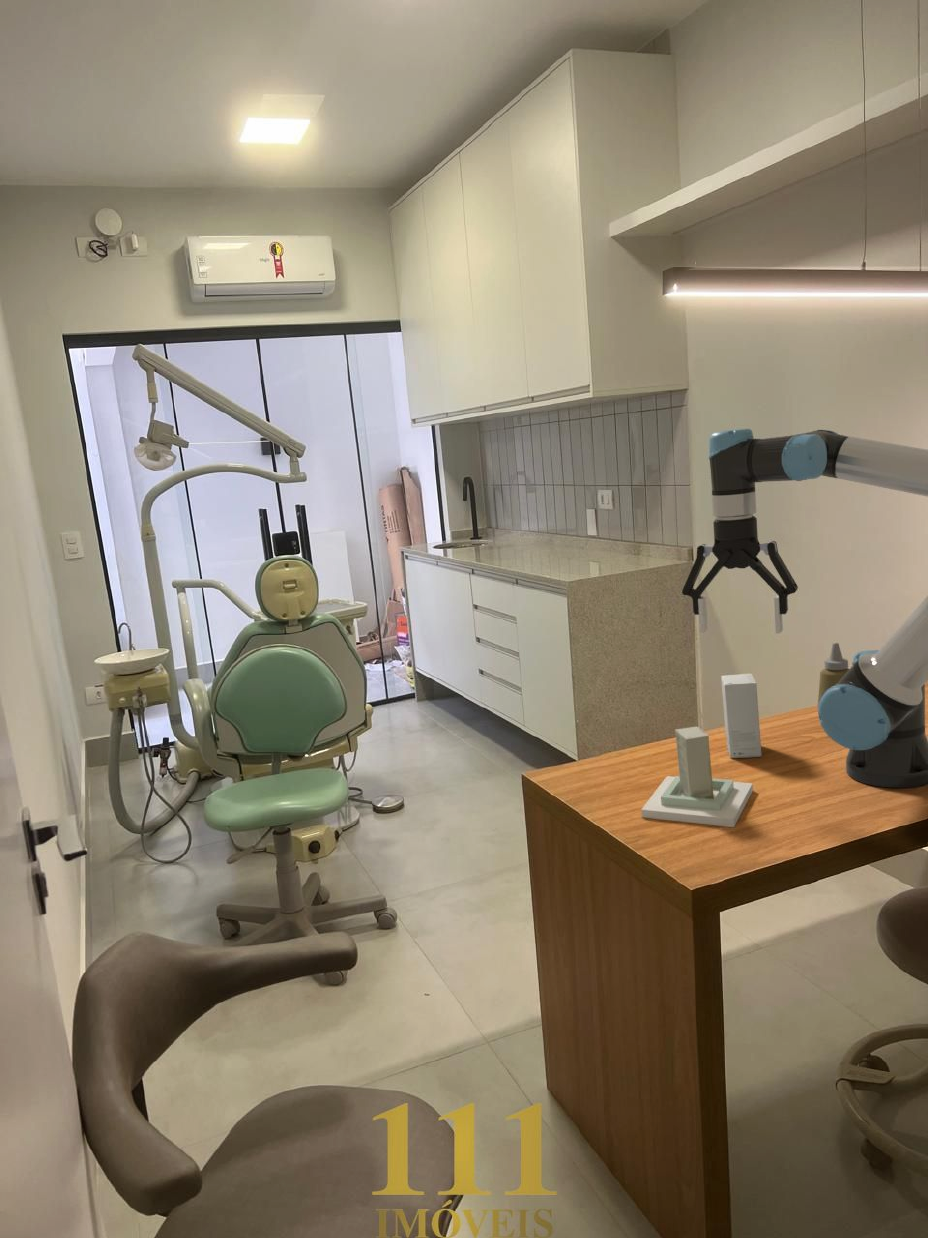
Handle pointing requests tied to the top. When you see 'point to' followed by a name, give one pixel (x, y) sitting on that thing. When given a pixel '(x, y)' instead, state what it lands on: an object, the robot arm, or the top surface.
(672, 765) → the top surface
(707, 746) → the skincare box
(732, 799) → the collar plate
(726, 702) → the skincare box
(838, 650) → the squeeze bottle
